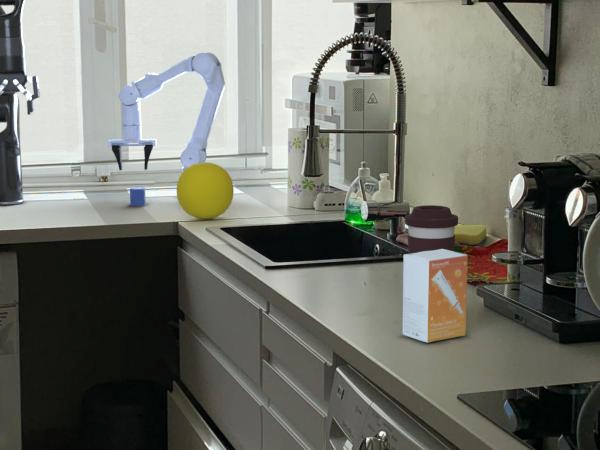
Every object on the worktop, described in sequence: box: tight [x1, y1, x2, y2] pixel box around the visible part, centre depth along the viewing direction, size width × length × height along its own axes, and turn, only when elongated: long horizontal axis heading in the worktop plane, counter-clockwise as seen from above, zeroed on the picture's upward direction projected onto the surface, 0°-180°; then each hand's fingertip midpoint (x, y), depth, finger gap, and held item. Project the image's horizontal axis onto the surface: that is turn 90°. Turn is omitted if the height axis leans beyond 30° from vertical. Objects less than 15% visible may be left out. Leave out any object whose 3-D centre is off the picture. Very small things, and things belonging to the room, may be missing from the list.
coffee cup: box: [404, 204, 459, 254], centre depth 197 cm, size 10×10×15 cm
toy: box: [176, 161, 235, 220], centre depth 278 cm, size 15×15×15 cm
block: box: [129, 186, 147, 207], centre depth 306 cm, size 4×4×5 cm
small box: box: [402, 249, 469, 344], centre depth 163 cm, size 8×6×13 cm
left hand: (13, 114), depth 285 cm, fingers open, 8 cm apart
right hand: (133, 169), depth 321 cm, fingers open, 7 cm apart
